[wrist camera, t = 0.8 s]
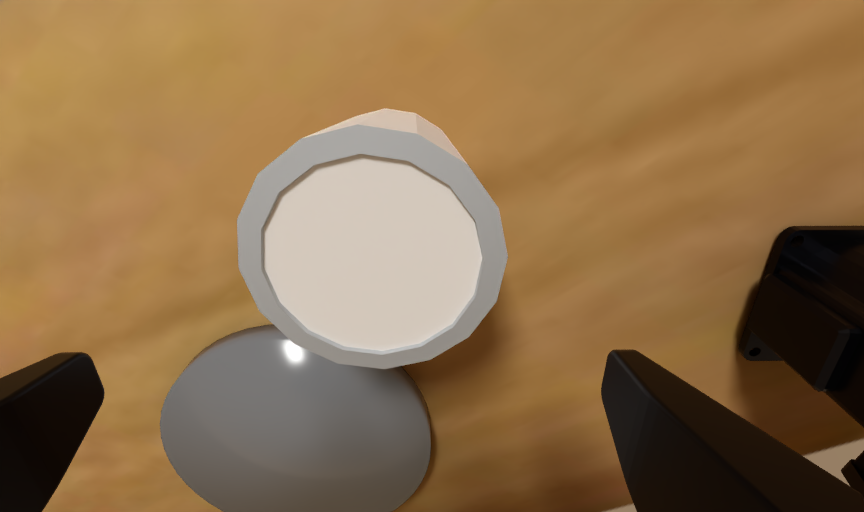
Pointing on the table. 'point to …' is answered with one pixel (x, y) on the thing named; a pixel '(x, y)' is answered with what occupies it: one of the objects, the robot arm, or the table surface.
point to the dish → (294, 429)
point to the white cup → (372, 242)
